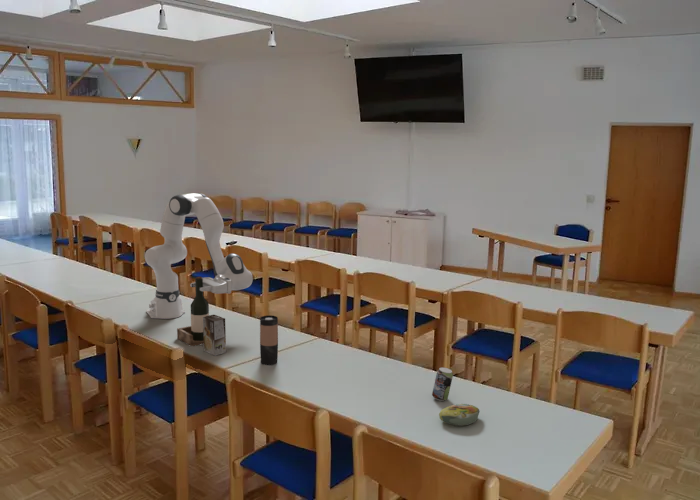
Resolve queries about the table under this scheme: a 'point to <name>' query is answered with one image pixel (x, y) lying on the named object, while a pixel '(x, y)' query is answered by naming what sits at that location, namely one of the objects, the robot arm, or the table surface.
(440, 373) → the beverage can
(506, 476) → the table surface
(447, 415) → the cell model
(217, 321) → the coffee box
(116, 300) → the table surface
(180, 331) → the tray
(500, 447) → the table surface
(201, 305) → the wine bottle
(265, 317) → the travel mug
